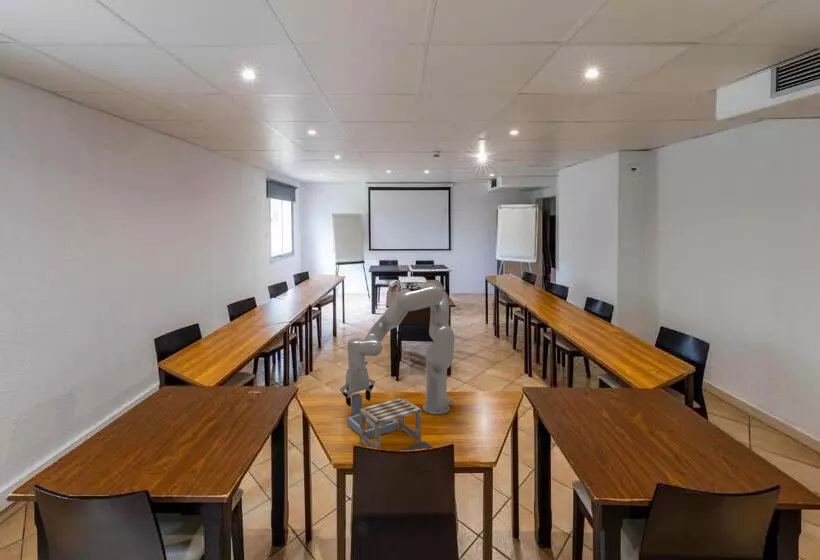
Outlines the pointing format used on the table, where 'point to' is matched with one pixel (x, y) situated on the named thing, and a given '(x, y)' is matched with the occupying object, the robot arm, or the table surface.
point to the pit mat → (418, 446)
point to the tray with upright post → (355, 418)
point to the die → (371, 424)
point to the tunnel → (390, 419)
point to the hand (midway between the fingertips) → (358, 402)
